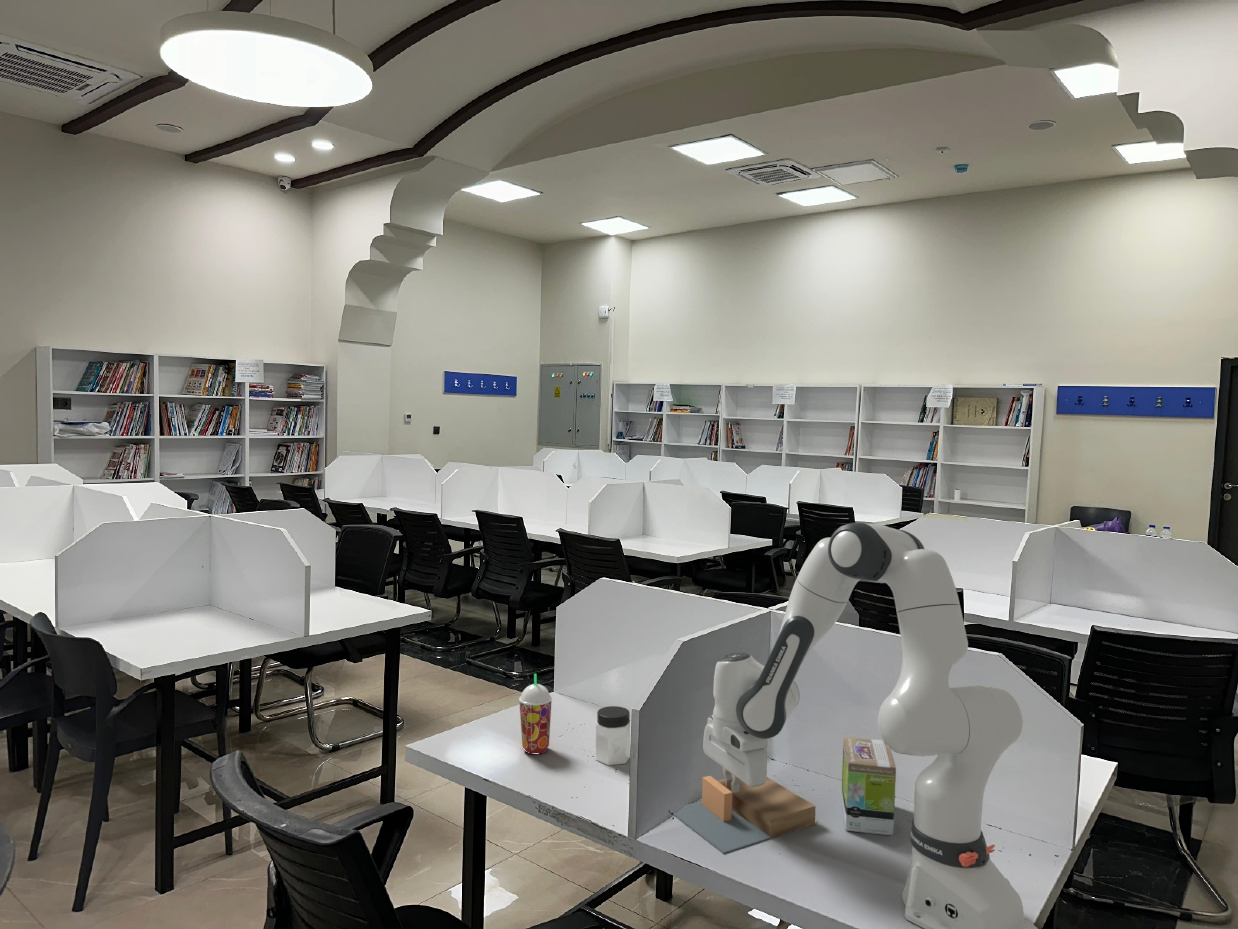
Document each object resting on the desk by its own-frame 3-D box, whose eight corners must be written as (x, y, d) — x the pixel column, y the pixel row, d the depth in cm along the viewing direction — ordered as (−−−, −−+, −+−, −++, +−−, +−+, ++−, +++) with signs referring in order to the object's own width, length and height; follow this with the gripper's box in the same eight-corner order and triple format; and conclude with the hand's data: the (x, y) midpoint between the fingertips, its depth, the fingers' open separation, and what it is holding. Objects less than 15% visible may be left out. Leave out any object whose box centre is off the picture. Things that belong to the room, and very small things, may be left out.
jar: (599, 767, 206) (599, 719, 205) (592, 753, 213) (592, 707, 213) (634, 763, 208) (634, 716, 207) (626, 750, 216) (626, 704, 215)
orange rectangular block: (732, 792, 178) (724, 794, 178) (731, 820, 179) (723, 821, 178) (710, 775, 186) (702, 777, 186) (709, 802, 187) (701, 803, 186)
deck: (815, 824, 178) (815, 806, 177) (770, 838, 172) (771, 819, 171) (755, 787, 195) (755, 770, 195) (713, 798, 189) (713, 781, 189)
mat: (770, 838, 172) (770, 837, 172) (723, 854, 166) (723, 852, 166) (713, 798, 189) (713, 797, 189) (668, 811, 183) (668, 810, 183)
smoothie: (522, 743, 220) (521, 668, 218) (553, 744, 219) (553, 669, 218) (517, 757, 211) (516, 679, 210) (549, 757, 211) (549, 679, 210)
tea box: (895, 837, 173) (897, 767, 172) (844, 832, 175) (846, 762, 174) (887, 803, 187) (888, 738, 186) (840, 799, 189) (842, 735, 188)
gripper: (696, 713, 190) (696, 773, 191) (746, 747, 171) (746, 813, 172) (720, 709, 192) (719, 768, 193) (772, 742, 174) (771, 807, 175)
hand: (732, 789), depth 183 cm, fingers closed
